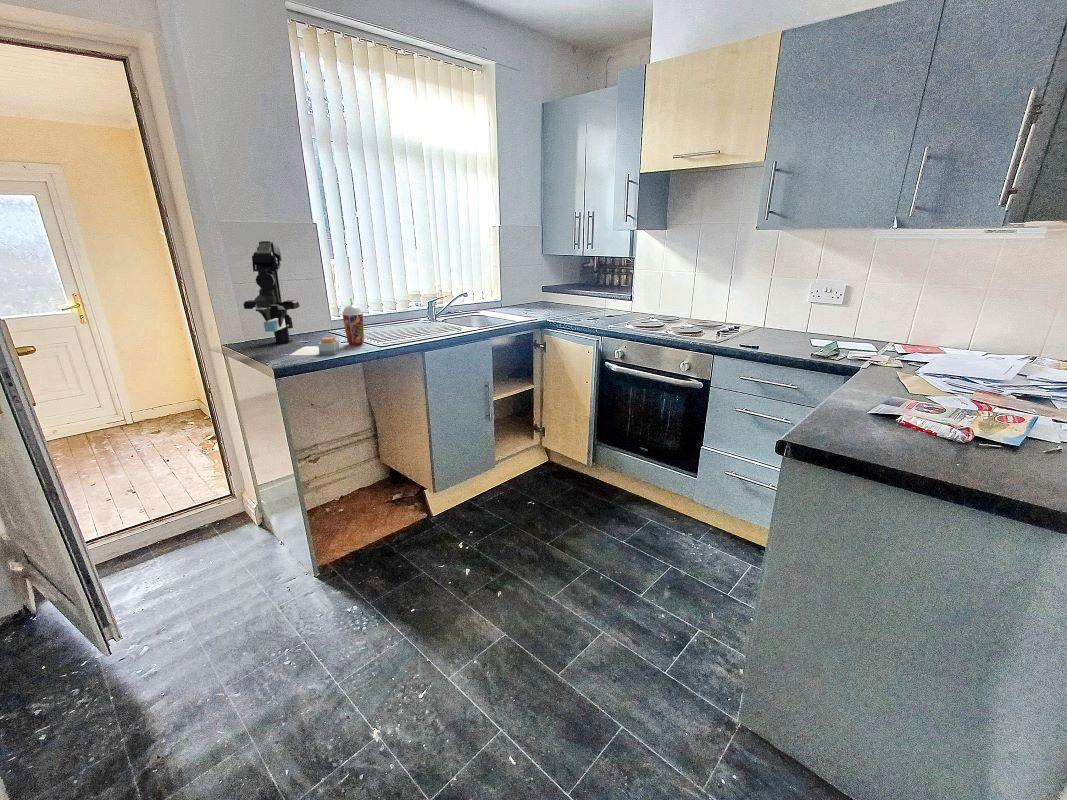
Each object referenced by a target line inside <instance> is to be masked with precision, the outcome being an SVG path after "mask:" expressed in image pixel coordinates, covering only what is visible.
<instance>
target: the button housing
mask: <svg viewBox="0 0 1067 800" xmlns="http://www.w3.org/2000/svg"><path fill="white" fill-rule="evenodd" d="M317 346H318V347H319V355H321V356H322V355H325V356H326V355H329V356H330V355H334V356H335V355H336V354H338V353H339V352H340V349H341V348H340V342H339V340H336V339H335V342H334V343H321V341H320V342H318V343H317Z"/></svg>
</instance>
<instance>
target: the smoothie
mask: <svg viewBox="0 0 1067 800" xmlns="http://www.w3.org/2000/svg"><path fill="white" fill-rule="evenodd" d="M349 301H350V304H349V305H347V306H346V307H344V309H343V312H342V320H343V324H344V329H345V336H346V337H345V338H346V341H347V343H348V345H349V346H353V347H357V346H362V345H364V341H365V333H364V313H363V311H362V310H361V308H360V307H359V306H358V305H356V304H353V299H352V297H351V298H350V300H349Z"/></svg>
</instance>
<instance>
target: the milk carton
mask: <svg viewBox="0 0 1067 800" xmlns="http://www.w3.org/2000/svg"><path fill="white" fill-rule="evenodd" d="M286 326H287V325H285V319H283V323H282V326H281V327H279V322H278V318H274V319H272V320H269V321H266V320H265V321H263V327H264V332H270V333H271V332H272V333H274V332H275V331H277V330H280V329H282V328H285V327H286Z"/></svg>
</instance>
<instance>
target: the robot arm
mask: <svg viewBox="0 0 1067 800" xmlns="http://www.w3.org/2000/svg"><path fill="white" fill-rule="evenodd" d="M282 260H283V259H282V254H281V251H280V247H277V246H276V245H275V244H274V243H273V241H271V240H266V241H265V240H264V241H263V240H261V241H258V246H257V248H256V250H255V251H254V252H253V255H251V261H252V262H251V263H252V271H253V272H257V275H256V277H255V282H256V284H257V286H258V287H260V288H259V289H258V290H259V291H258V295H257V296H256V297H255V298H254V299H250V300H245V301H244V302H243V310H244V309H245V310H252V309H254V308H255V309H254V311H255V312H258V313H260V315H261V316H262V317H263V319H264V321H265V322H266V321H269V320H272V319H274V318H278V322H279V327H281V326H282V323H283V319H285V325H286V327H285V328H282V329H280V330H277V331H275V332H273V334H274V339H275V341H272V342H271V343H272V344H289V343H292V342H293V341H294V339H293V338H292V339H291V338H290V332H289V329H293V328H294V325H293V319H292V317H291V316H290V314H288V311H289V310H294V309H298V308H300V303H299V301H298V300H296V299H295V300H294V299H290V300H288V299H287V300H283V301H282V295H281V294H282V292H281V287H280V280H279V279H280V278H279V274H278V272H279V270H280V267H281V262H282Z"/></svg>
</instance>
